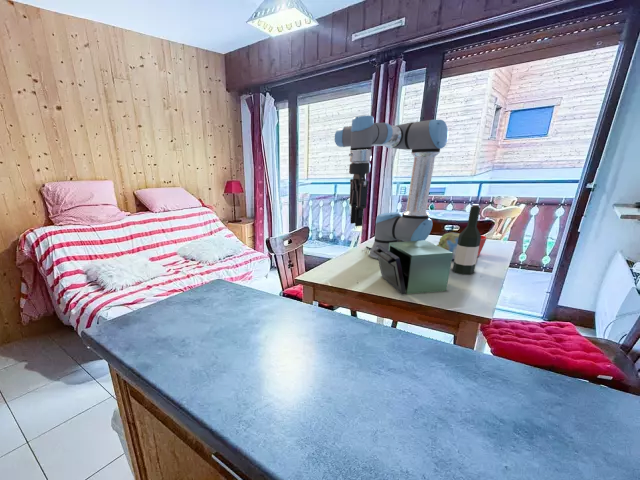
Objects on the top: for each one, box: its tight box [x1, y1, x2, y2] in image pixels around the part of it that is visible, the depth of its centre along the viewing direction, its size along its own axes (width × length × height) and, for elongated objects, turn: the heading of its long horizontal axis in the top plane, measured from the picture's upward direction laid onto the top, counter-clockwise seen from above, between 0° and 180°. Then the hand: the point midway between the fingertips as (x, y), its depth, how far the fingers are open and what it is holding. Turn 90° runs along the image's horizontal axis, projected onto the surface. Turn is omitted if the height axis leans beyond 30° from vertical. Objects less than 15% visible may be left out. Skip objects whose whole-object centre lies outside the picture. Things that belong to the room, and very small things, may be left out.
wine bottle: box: [452, 203, 482, 275], centre depth 143 cm, size 8×8×30 cm
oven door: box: [373, 245, 407, 295], centre depth 136 cm, size 4×20×16 cm, turn 2°
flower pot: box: [477, 234, 487, 257], centre depth 169 cm, size 11×11×10 cm
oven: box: [389, 239, 453, 295], centre depth 136 cm, size 16×20×16 cm
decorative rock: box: [436, 232, 460, 260], centre depth 165 cm, size 14×16×15 cm
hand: (356, 224), depth 130 cm, fingers open, 5 cm apart
